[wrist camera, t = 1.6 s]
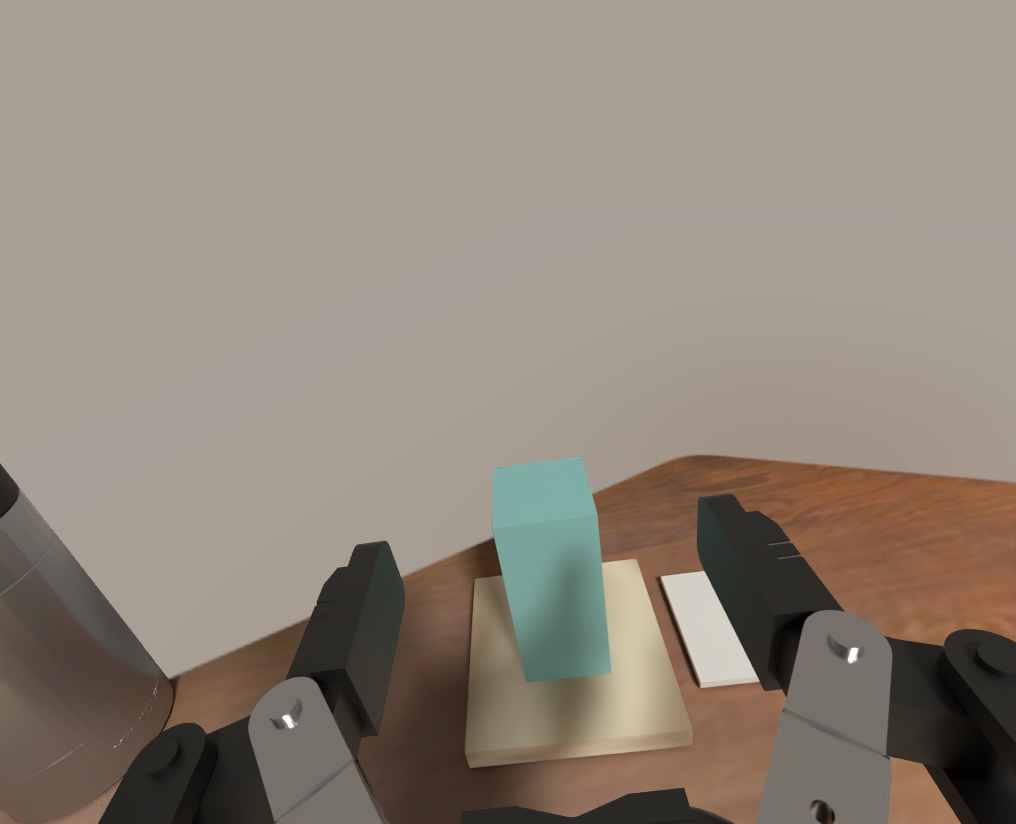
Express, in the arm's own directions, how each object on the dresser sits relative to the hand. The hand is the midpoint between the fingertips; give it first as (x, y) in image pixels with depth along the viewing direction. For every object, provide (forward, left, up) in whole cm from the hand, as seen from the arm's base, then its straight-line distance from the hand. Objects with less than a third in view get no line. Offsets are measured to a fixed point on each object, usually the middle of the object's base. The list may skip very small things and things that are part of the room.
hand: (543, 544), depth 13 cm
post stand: (0, +11, -20) cm, 23 cm away
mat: (+11, +12, -20) cm, 26 cm away
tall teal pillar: (0, +11, -19) cm, 22 cm away
